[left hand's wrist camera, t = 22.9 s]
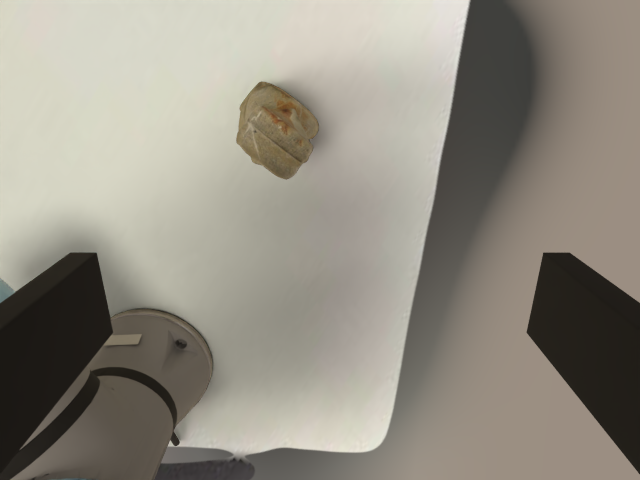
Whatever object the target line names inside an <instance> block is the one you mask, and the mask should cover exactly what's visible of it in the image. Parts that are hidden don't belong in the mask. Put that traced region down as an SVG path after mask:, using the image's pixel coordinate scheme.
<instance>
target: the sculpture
mask: <svg viewBox="0 0 640 480" xmlns="http://www.w3.org/2000/svg"><path fill="white" fill-rule="evenodd" d="M240 111H241V113H240V120H239V132H238V134H237V139H236V140H237V144H239V145H240V146H241V148H242V149H243V150H244V151H245V152H246V153H247V154H248V155H249V156H251V159H252V161H253V162H254V163H255V164H259V165H263V166H264V167H265V168H266V169H268V170H269V171H270V172H272V173H273V174H274V175H276V176H278V177H280V178H283V179H289V178H291V177H292V176H294V175H295V174H296V172H297V171H298V169H299V167H300V166H301V165H302V164H303V163H305V162H307V160H308V158H309V156H310V154H311V153H312V151H313V146H312V144H311V143H310V142H309V139H312V138H313V137H314V136H315V135H316V134H317V132H318V128H319V125H318V122H317V120H316V118H315V117H314V116H313V115H312V113H311V112H310V111H309V110H308V109H306V108H305V107H304V106H303V105H302V104H301V103H300V102H298V101H297V100H296V99H294V98H293V97H292V96H290V95H289V94H288V93H286V92H285V91H283V90H282V89H280V88H278V87H276V86H274V85H272V84H270V83H267V82H259V83H258V84H257V85H256V86H255V87H254V89H253V90H252V91H251V92H250V93H249V94H248V96H247V97H246V98H245V100H244V101H243V102H242V104H241V106H240Z"/></svg>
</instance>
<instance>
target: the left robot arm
mask: <svg viewBox="0 0 640 480" xmlns="http://www.w3.org/2000/svg"><path fill="white" fill-rule="evenodd" d="M527 334H528V335H529V336H530V337H531V339H532V340H533V341H534V342H535V344H536V345H537V346H538V347H539V349H540V350H541V351H542V352H543V354H544V355H545V356H546V357H547V359H548V360H549V361H550V362H551V364H552V365H553V366H554V367H555V369H556V370H557V371H558V372H559V374H560V375H561V376H562V377H563V379H564V380H565V381H566V382H567V384H568V385H569V386H570V387H571V389H572V390H573V391H574V392H575V394H576V395H577V396H578V397H579V399H580V400H581V401H582V402H583V404H584V405H585V406H586V407H587V409H588V410H589V411H590V413H591V414H592V415H593V416H594V418H595V419H596V420H597V421H598V423H599V424H600V425H601V426H602V428H603V429H604V430H605V431H606V432H607V434H608V435H609V436H610V438H611V439H612V440H613V441H614V443H615V444H616V445H617V446H618V448H619V449H620V450H621V451H622V453H623V454H624V455H625V456H626V458H627V459H628V460H629V461H630V463H631V464H632V465H633V466H634V468H635V469H636V470H637V471H638V473H639V474H640V303H639V302H638V301H636V300H635V299H633V298H632V297H631V296H629V295H628V294H626V293H625V292H624V291H622V290H621V289H619V288H618V287H617V286H615V285H614V284H612V283H611V282H610V281H608V280H607V279H605V278H604V277H603V276H601V275H600V274H599V273H597V272H596V271H594V270H593V269H592V268H590V267H589V266H587V265H586V264H585V263H583V262H582V261H580V260H579V259H578V258H576V257H575V256H573V255H572V254H571V253H543V257H542V262H541V267H540V272H539V276H538V281H537V286H536V291H535V295H534V300H533V305H532V310H531V314H530V319H529V324H528V329H527ZM211 375H212V357H211V353H210V350H209V348H208V346H207V344H206V342H205V341H204V339H203V338H202V336H201V335H200V334H199V333H198V332H197V331H196V330H195V329H194V328H193V327H192V326H190V325H189V324H188V323H186V322H185V321H183V320H182V319H180V318H178V317H176V316H174V315H171V314H168V313H165V312H162V311H157V310H150V309H136V310H129V311H125V312H122V313H119V314H117V315H115V316H113V317H111V318H110V314H109V310H108V305H107V300H106V295H105V290H104V286H103V281H102V276H101V271H100V267H99V262H98V257H97V253H69V254H68V255H67V256H65V257H64V258H62V259H61V260H60V261H58V262H57V263H55V264H54V265H53V266H51V267H50V268H48V269H47V270H46V271H44V272H43V273H41V274H40V275H39V276H37V277H36V278H35V279H33V280H32V281H30V282H29V283H28V284H26V285H25V286H23V287H22V288H21V289H19V290H18V291H16V292H15V291H14V290H13V289H12V288H11V287H10V286H8V285H7V284H6V283H5V282H4V281H3V280H2V279H1V278H0V480H154V479H155V476H156V473H157V471H158V468H159V466H160V463H161V461H162V458H163V456H164V453H165V451H166V448H167V446H168V444H169V441H170V440H171V441H172V443H173V445H174V446H177V445H179V443H180V442H179V440H178V438H177V436H176V435H175V433H174V428H175V426H176V425H177V424H178V423H179V422H180V421H181V420H182V419H183V418H184V417H185V416H186V414H187V413H188V412H189V411H190V410H191V409H192V408H193V407H194V406H195V405H196V404H197V403H198V402H199V400H200V399H201V397H202V396H203V394H204V392H205V391H206V389H207V386H208V384H209V381H210V378H211Z"/></svg>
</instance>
